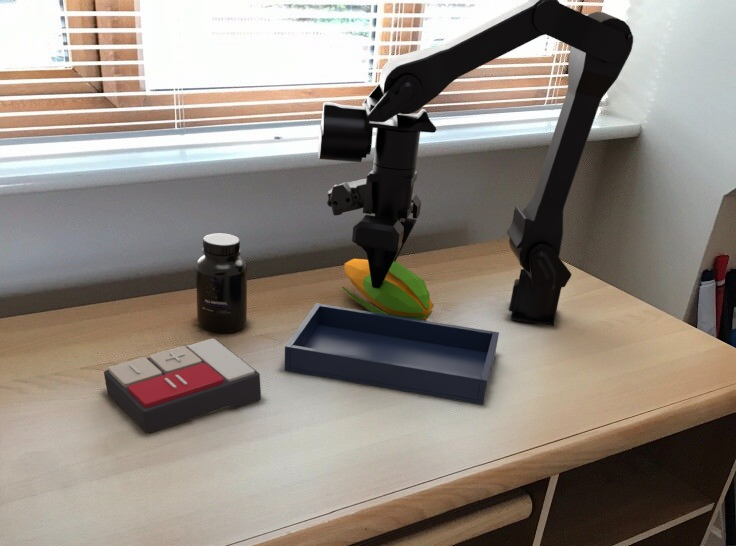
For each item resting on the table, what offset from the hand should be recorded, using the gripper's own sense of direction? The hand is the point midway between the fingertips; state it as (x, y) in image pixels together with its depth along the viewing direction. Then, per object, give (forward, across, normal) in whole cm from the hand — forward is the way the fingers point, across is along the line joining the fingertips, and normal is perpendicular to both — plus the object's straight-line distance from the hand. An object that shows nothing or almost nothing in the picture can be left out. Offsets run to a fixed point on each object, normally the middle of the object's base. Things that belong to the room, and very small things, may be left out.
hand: (381, 278), depth 122 cm
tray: (+6, +15, +5) cm, 17 cm away
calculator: (+7, +33, -17) cm, 38 cm away
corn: (+5, -1, 0) cm, 5 cm away
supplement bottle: (+6, +12, -20) cm, 24 cm away
